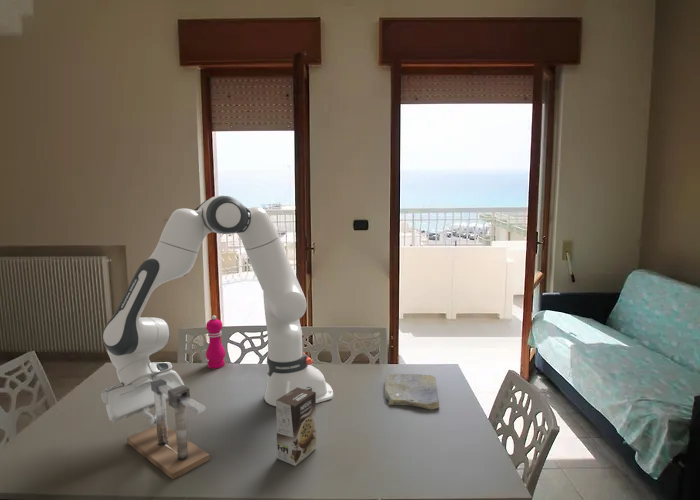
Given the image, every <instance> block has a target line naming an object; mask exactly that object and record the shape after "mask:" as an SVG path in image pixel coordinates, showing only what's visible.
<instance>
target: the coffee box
mask: <svg viewBox="0 0 700 500" xmlns="http://www.w3.org/2000/svg"><path fill="white" fill-rule="evenodd" d="M316 406H317V403H316V392H313V391H310V390H306V389H301V388H298V387H297V388H295V389H294V390H292V391H290V392H289V393H287V394H286V395H284V396H282V397H281V398H279V399H277V400H276V406H275V408H276V409H275V412H276V413H275V416H276V417H275V418H276V459H278V460H280V461H282V462H285V463H287V464H289V465H292V466H294V467H296V466H297V465H299V464H300V463H301V462H302V461H303V460H304V459H306V458H307V457H308V456H310V455H311V454H312V453H313V452H314V451H315V450H317V407H316Z"/></svg>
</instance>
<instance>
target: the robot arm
mask: <svg viewBox="0 0 700 500" xmlns="http://www.w3.org/2000/svg"><path fill="white" fill-rule="evenodd" d="M211 233H215V234H219V235H221V234H222V235H223V234H225V235H232V234H237V236H238V237H239V239H240V240H241V243H242V245H243V248H244V251H245V253H246V256H247V257H248V260H249V263H250V265H251V268H252V269H253V272H254V274H255V277H256V279H257V281H258V283H259V285H260V287H261V290H262V291H263V293H262V295H263V306H264V316H265V317H264V318H265V323H266V326H265V327H266V331H267V357H266V372H267V373H266V374H267V384H266V390H265V394H264V396H263V397H264V400H265V402H266V403H267V404H269V405H271V406H273V407H276V400H277V399H279V398H281V397H282V396H284V395H286V394H287V393H289V392H290V391H292V390H294V389H295V388H297V387H298V388H301V389H306V390H310V391H313V392H316V404H319V403H322V402H325V401H329V400H332V399H333V398H334V390H333V388H332V386H331V385H330V383H328V382H326V379H325V376H324V375H323V373H322V372H321V370H320V369H318V368H316V367H315V366H313V365H312V364H313V362H314V360H313V359H312V358H311V357H309V356H308V354H306V353H305V352H304V351H303V331H302V326H301V322H300V319H301V318H302V317H303V316H304V315H305V313H306V311H307V307H308V306H307V299H306V297H305V296H306V295H305V294H304V291H303V290H302V286H301V285H300V282H299V280H298V277H297V275H296V273H295V271H294V269H293V267H292V265H291V263H290V261H289V260H288V256H287V254H286V251H285V249H284V247H283V243H282V241H281V238H280V236H279V233H278V231H277V229H276V226H275V225H274V222H273V220H272V219H271V217H270V216H269V214H268V213H267V211H266V210H265V209H264V208H262V207H260V206H259V207H257V206H254V207H253V206H252V207H249V208H248V207H246V206H245V205H244V204H243V203H242V202H241V201H240V200H238V199H237V198H234V197H233V196H229V195H215V196H212V197H210V198H207V199H206V200H204V201H203V202H202V203H200V205H199V206H197V207H196V208H195V209H191V208H188V207H187V208H177V209H176V210H174V211H172V213H171V215H170V217H169V218H168V220H167V221H166V223H165V225H164V228H163V229H162V232H161V235H160V237H159V239H158V240H159V241H158V242H157V244H156V247H155V248H154V250H153V252H152V254H151V255H150V256H149V257H148V258H147V259H146V260H145V261H143V262H142V263H141V264H140V265H139V267H138V269H137V270H136V272H135V273H134V275H133V276H132V279H131V281H130V283H129V285H128V287H127V289H126V291H125V293H124V295H123V296H122V299H121V301H120V303H119V305H118V306H117V308H116V310H115V312H114V313H113V315H112V316H111V317H110V319H109V320H108V321H107V323H106V324H105V326H104V327H103V331H102V336H101V337H102V342H103V345H104V347H105V348H106V352H107V354H108V357H109V358H110V362H111V363H112V365H113V366H114V367H115V369H116V375H117V378H118V380H119V383H117V384H114V385H112V386H108V387H106V388H104V390H102V392H101V394H100V398H101V401H102V403H103V404H104V405H105V409H106V412H107V413H106V414H107V415H108V419H109V421H111V422H112V423H117V422H120V421H122V420H124V419H125V420H126V419H127V418H130V417H133V416H135V415H138V414H140V413H141V415H142V417H144V418H146V419H147V420H149V422H150V424H151V425H152V426H153V425H156V414H155V415H153V414H152V413H151V412H150V410H151V409H153V408H155V399H154V392H153V391H152V390H151V382H154V381H157V380H159V379H162V380H164V381H166V382H167V385H168V386H170V387H172V388H176V387H178V386H181V385H184V386H186V385H185V384H184V381H183V380H182V378H181V376H180V375H179V373H177V372H176V371H175V370H174V369H172V368H173V365H172V363H171V362H169V361H165V362H155V361H153V362H151V360H150V356H151V355H154V354H156V353H157V352H159V351H161V350H162V349H164V348H165V347H167V345H168V343H169V341H170V337H171V330H170V326H169V324H168V322H167V321H166V320H165V319H163V318H160V317H151V316H150V317H149V316H145V317H141V316H142V313H143V311H144V309H145V308H146V305H147V303H148V301H149V299H150V297H151V295H152V294H153V292H154V290H156V288H158V287H159V286H160V285H163V284H164V283H167V282H169V281H172V280H175V279H179V278H182V277H184V276H185V275H187V274H188V273H190V272H191V271H192V268H193V267H194V265H195V263H196V261H197V257H198V255H199V252H200V249H201V245H202V243H203V241H204V239H205V238H206V237H207V236H208V234H211ZM165 402H166V403H167V402H168V403H169V400H168V396H167V395H165Z"/></svg>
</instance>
